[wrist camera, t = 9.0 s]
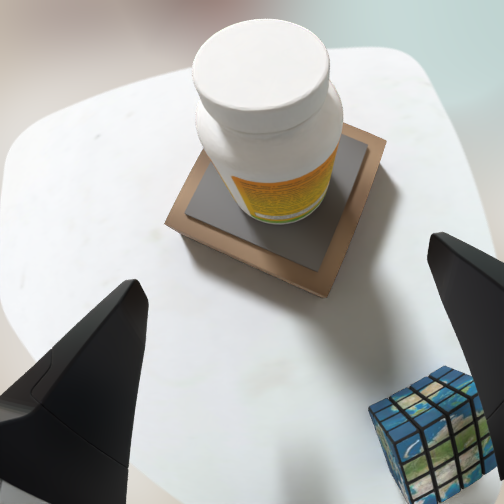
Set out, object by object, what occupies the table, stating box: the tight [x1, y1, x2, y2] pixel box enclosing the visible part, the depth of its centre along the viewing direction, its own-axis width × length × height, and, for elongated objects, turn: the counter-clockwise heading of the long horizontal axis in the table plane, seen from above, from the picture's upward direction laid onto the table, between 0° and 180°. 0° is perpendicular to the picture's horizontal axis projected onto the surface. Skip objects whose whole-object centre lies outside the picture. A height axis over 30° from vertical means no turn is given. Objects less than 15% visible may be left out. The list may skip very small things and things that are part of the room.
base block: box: [164, 123, 387, 298], centre depth 19 cm, size 10×10×3 cm
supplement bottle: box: [192, 19, 343, 225], centre depth 12 cm, size 5×5×10 cm
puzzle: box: [368, 366, 497, 504], centre depth 14 cm, size 6×6×6 cm
